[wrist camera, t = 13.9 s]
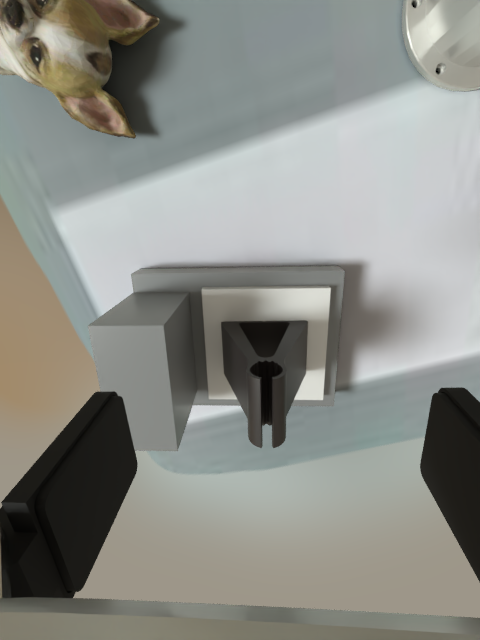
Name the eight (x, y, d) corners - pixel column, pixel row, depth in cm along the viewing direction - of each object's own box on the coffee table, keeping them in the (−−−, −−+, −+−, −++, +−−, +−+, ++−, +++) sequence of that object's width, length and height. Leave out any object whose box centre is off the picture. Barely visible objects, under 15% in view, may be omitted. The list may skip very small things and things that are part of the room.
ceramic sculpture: (-96, -141, 20) (142, -34, 22) (0, -46, 28) (168, 26, 30) (-93, 58, 24) (111, 136, 26) (-9, 91, 32) (142, 149, 34)
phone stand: (307, 320, 34) (332, 379, 23) (305, 371, 36) (326, 449, 25) (221, 320, 35) (203, 378, 23) (223, 371, 37) (208, 447, 25)
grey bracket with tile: (338, 265, 36) (379, 298, 24) (328, 392, 41) (358, 472, 29) (140, 268, 37) (83, 301, 25) (156, 391, 43) (115, 467, 30)
